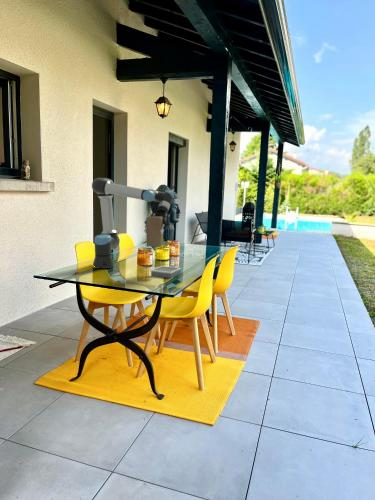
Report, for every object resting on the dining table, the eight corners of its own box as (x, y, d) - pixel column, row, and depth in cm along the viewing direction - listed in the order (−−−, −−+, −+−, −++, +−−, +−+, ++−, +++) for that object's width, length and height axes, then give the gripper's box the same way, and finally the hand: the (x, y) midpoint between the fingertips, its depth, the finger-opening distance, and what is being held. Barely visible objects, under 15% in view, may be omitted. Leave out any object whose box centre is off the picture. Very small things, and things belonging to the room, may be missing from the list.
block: (160, 246, 256) (160, 217, 253) (146, 246, 258) (145, 217, 255) (163, 244, 266) (163, 216, 263) (149, 244, 268) (149, 216, 264)
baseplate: (151, 275, 253) (151, 270, 253) (161, 271, 267) (161, 265, 266) (171, 278, 247) (171, 272, 247) (180, 273, 261) (180, 268, 260)
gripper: (180, 212, 268) (170, 236, 256) (150, 211, 277) (140, 234, 266) (176, 205, 262) (167, 229, 251) (146, 204, 271) (136, 228, 260)
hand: (153, 232), depth 258 cm, fingers closed on block, 12 cm apart
